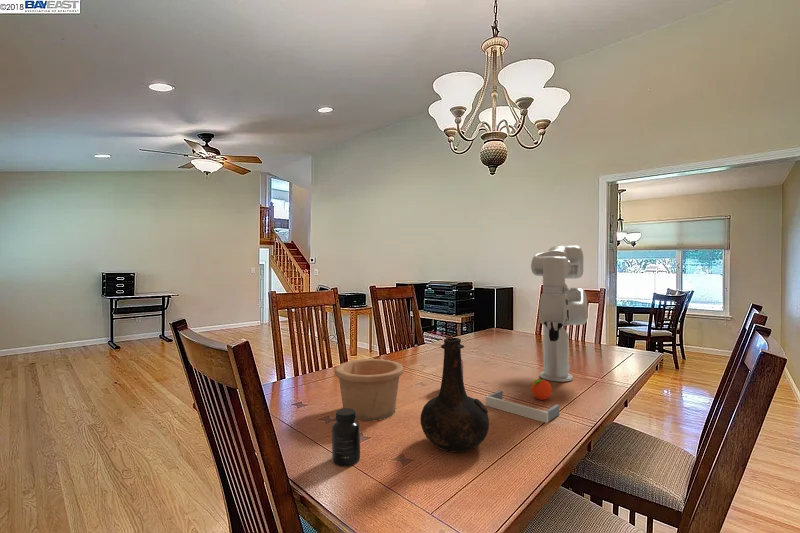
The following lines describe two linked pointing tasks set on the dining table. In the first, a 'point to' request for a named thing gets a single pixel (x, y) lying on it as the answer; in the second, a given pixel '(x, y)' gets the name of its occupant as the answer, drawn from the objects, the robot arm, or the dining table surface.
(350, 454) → the supplement bottle
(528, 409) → the grey u-shaped bracket
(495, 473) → the dining table surface
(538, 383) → the clementine
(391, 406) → the pottery
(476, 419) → the glass bottle
